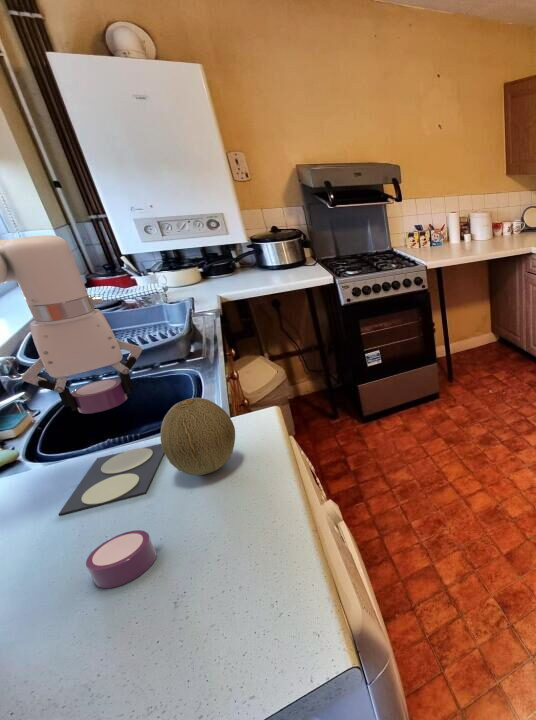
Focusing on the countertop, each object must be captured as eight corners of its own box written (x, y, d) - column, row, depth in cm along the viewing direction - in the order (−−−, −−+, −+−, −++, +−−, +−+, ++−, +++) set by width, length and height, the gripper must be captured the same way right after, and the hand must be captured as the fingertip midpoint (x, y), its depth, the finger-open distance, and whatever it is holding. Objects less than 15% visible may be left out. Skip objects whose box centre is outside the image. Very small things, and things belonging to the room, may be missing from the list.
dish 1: (71, 417, 78) (63, 400, 76) (87, 399, 84) (80, 383, 82) (120, 407, 80) (113, 391, 79) (132, 391, 86) (126, 375, 85)
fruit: (255, 450, 90) (236, 386, 84) (218, 488, 79) (194, 417, 74) (201, 450, 90) (179, 386, 85) (158, 487, 80) (130, 417, 74)
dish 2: (86, 596, 60) (76, 577, 58) (105, 557, 65) (96, 539, 64) (149, 576, 62) (140, 558, 61) (162, 541, 68) (154, 523, 67)
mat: (59, 515, 74) (57, 513, 74) (97, 459, 88) (96, 457, 88) (146, 493, 78) (145, 491, 78) (169, 443, 93) (168, 441, 93)
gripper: (123, 294, 83) (154, 377, 90) (-12, 318, 71) (34, 412, 78) (131, 301, 79) (163, 388, 85) (-12, 328, 67) (38, 427, 73)
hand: (101, 399), depth 82 cm, fingers closed on dish 1, 7 cm apart
